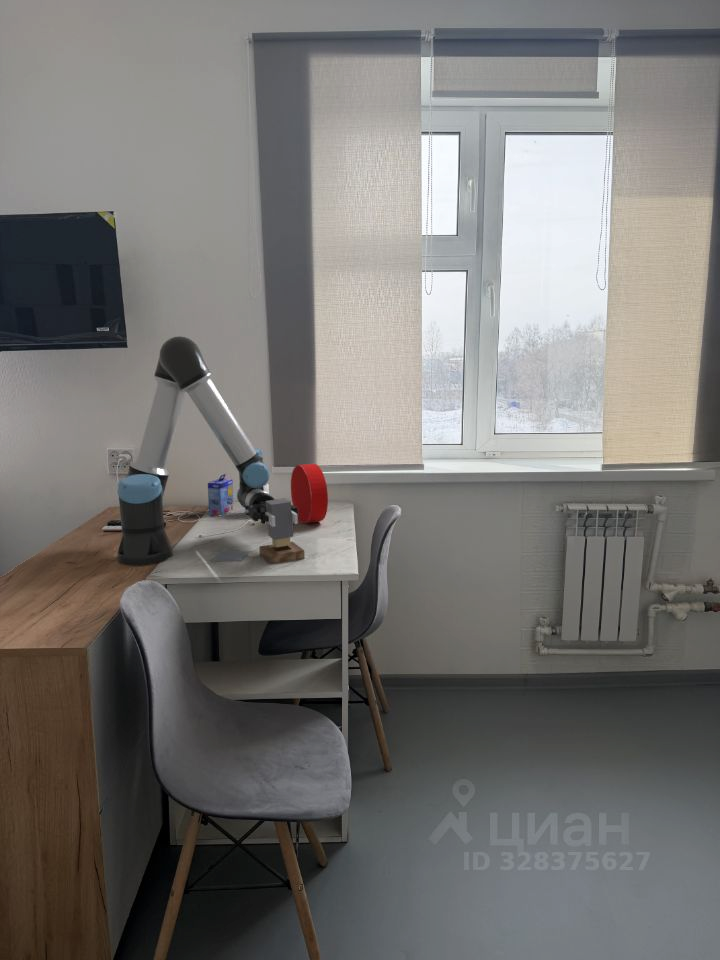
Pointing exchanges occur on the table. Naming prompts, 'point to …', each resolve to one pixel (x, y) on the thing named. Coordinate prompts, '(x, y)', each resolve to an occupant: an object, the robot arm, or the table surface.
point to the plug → (280, 521)
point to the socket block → (281, 553)
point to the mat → (230, 556)
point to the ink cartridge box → (220, 496)
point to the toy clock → (309, 493)
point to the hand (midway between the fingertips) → (285, 520)
